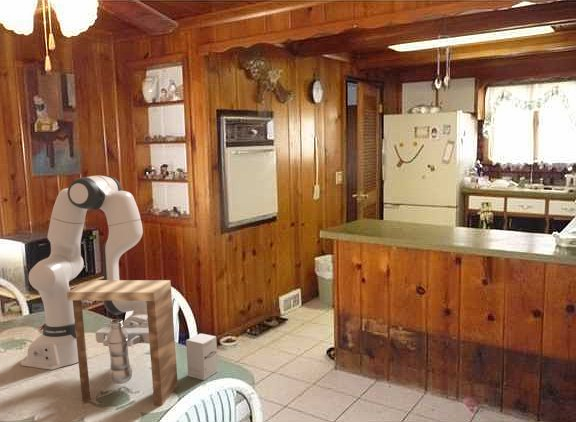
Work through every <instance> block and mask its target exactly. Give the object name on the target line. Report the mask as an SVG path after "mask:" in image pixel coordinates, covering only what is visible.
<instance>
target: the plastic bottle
mask: <svg viewBox="0 0 576 422" xmlns="http://www.w3.org/2000/svg"><path fill="white" fill-rule="evenodd" d="M123 322H124V320H123V319H122V318H114V319H112V320H110V322H109V325H110V328H111V330H110V331H109V333H108V335H107V343H108V346H107V347H108V351H109V357H110V369H109V377H110V378H109V379H110V381H111V382H112V383H114V384H116V385H121V384H126V383H127V382H129V381H130V380H131V379H132V376H133V375H132V374H133V369H132V367H131V364H130V359H129V346H127V340H129V336H128V333H127V332H126V330H125V329H124V328H123Z"/></svg>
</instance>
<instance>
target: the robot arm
mask: <svg viewBox="0 0 576 422" xmlns="http://www.w3.org/2000/svg"><path fill="white" fill-rule="evenodd" d="M122 188H123V187H122V185H121V183H120V182H119V181H118V179H117V178H115V177H113V176H110V175H97V174H96V175H90V176H82V177H78V178H75V180H73V181H72V182H71V183H70V184H69V185H68V187H67V188H63V189H61V190H60V191H59V193H58V195H57V196H56V199H55V203H54V205H53V208H52V213H51V214H50V215H51V216H50V222H49V226H48V232H47V240H48V242H49V243H50V254H49V256H48V257H45V258H44V259H41V260H40V261H37V263H36V264H35V265H34V266H33V267H32V268H31V269H30V270H29V273H28V281H29V283H30V285H31V286H32V288H33V289H35V290H36V291H37V292H38V294H39V296H40V298H41V301H42V303H43V309H44V317H45V323H44V324H43V325H41V326H40V327H39V331H42V333H41V334H40V335H39V336H38V337H36V339H34V341H32V342H31V343H30V344H29V346H28V347H27V355H26V356H25V357H24V358H22V360H21V361H20V365H21V366H23V367H28V368H37V369H44V370H56V369H60V368H61V367H62V368H63V367H66V366H71V365H73V364H76V363H79V362H78V351H77V341H76V331H75V320H74V310H73V300H68V297H67V292H68V291H70V290H71V287H70V284H69V283H70V281H73V279H75V278H77V276H78V275H79V274H80V273H81V272H82V270H83V269H84V264H85V263H84V258H83V257H82V252H81V246H82V245H81V244H82V243H81V242H82V237H83V231H84V225H85V222H86V217H87V216H86V215H87V212H88V211H89V210H91V211H98V210H101V211H102V212H103V213H104V215H105V217H106V222H107V226H108V235H107V240H106V241H105V242H104V244H103V247H102V248H103V249H102V262H103V263H102V266H103V280H120V266H119V263H120V258H121V257H122V255H124V254H125V253H126V252H127V251H129V250H131V249H132V248H134V247H135V246H136V245H137V244H138V243H139V242H140V241H141V239H142V237H143V233H144V231H143V230H144V229H143V223H142V219H141V213H140V211H139V208H138V205H137V203H136V200H135V197H134V195H133V194H132V193H131V192H130V191H127V190H122ZM103 306H104V308H105V309H106V310H107V311H108V312H110V313H111V314H112V315H114V316H116V315H117V316H118V315H121V314H124V313H125V314H126V313H128V312H133V313H132V314H131V315H129V316H128V317H127V318H125V319H124V320H123V328H124V329H125V330H126V332H127V333H128V336H129V340H127V346H128V347H133V346H135V345H137V344H150V342H149V329H148V316H147V303H146V301H103ZM110 330H111V328H110V324H108V325H104V326H102V327H101V328H100V329H98V330H96V331H95V340H96V342H97V343H102V344H103V347H108V343H107V335H108V333H109V331H110ZM86 355H87V356H88V352H87V351H86Z"/></svg>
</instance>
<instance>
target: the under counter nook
mask: <svg viewBox="0 0 576 422" xmlns="http://www.w3.org/2000/svg"><path fill="white" fill-rule="evenodd" d="M67 297H68V300H73V310H74V320H75V331H76V341H77V351H78V362H77V363H78V369H79V381H80V392H81V393H80V394H81V401H82V402H83V403H85V402H89V401H90V400H91V399H92V398H91V397H92V396H91V390H90V389H91V388H90V378H89V376H90V375H89V368H88V359H87V358H88V354H87V355H86V352H87V348H86V347H87V345H86V336H85V326H84V325H85V324H84V314H83V305H82V301H100V302H101V301H102V302H104V301H146V303H147V316H148V329H149V342H150V343H149V353H150V365H151V367H150V368H151V379H152V390H153V391H152V392H153V405H154V406H163V405H164V404H165V402H166V401H167V400H168V398H170V396H171V394H172V393H173V392H174V391H175V389H176V388H177V386H178V385H179V383H178V381H179V380H178V371H177V370H178V368H177V355H176V340H175V326H174V313H173V309H174V308H173V298H172V297H173V296H172V284H171V279H166V280H165V279H161V280H160V279H157V280H156V279H155V280H154V279H153V280H152V279H151V280H150V279H145V280H143V279H142V280H141V279H140V280H139V279H137V280H135V279H134V280H133V279H132V280H131V279H128V280H127V279H126V280H125V279H124V280H123V279H119V280H104V279H97V280H96V279H93V280H91V279H90V280H88V281H86V282H84V283H82V284H80V285H78V286H76V287H74V288H73V289H70V291H68V292H67Z"/></svg>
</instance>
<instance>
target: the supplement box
mask: <svg viewBox="0 0 576 422" xmlns="http://www.w3.org/2000/svg"><path fill="white" fill-rule="evenodd" d="M185 346H186V347H185V348H186V365H187V376H188V377H191V378H195V379H199V380H202V381H205V380H206V379H208V378H209V377H212V376H213V375H214V374H216V373H218V372H219V365H218V348H217V346H218V345H217V336H216V335H212V334H206V333H198V334H197V335H194V336H192V337H190V338H188V339H186V340H185Z"/></svg>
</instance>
